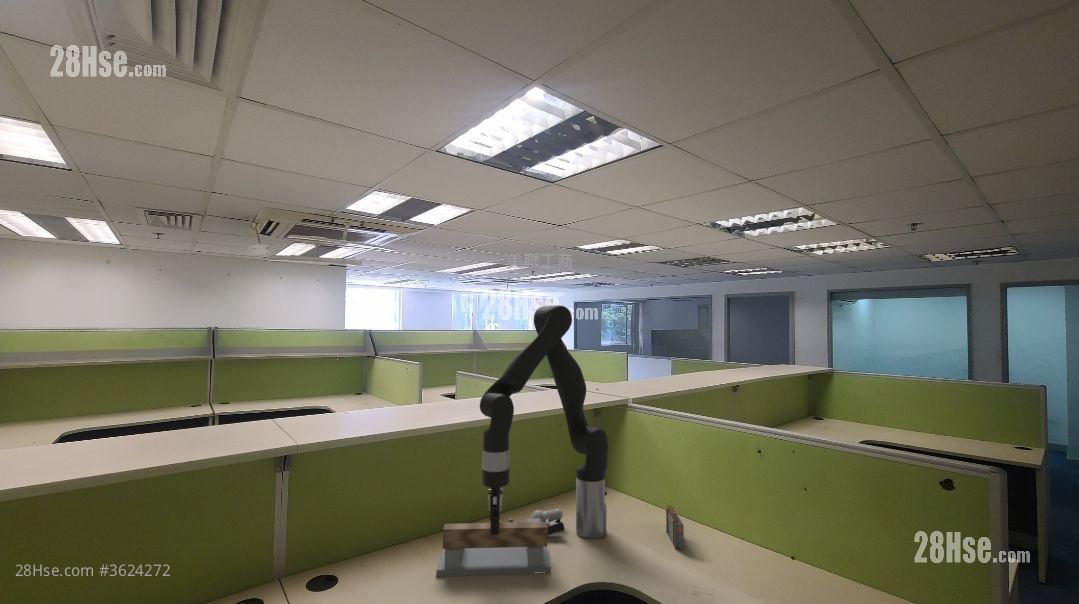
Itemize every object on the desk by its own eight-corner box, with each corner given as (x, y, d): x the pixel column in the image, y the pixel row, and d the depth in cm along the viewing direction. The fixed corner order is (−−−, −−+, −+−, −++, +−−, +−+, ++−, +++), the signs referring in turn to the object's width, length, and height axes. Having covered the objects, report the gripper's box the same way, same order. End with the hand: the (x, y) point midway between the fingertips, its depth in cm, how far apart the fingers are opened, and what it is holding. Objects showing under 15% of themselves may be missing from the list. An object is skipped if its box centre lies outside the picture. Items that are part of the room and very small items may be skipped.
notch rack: (546, 549, 129) (546, 517, 130) (550, 572, 116) (550, 537, 117) (443, 551, 127) (444, 519, 128) (436, 576, 114) (437, 540, 115)
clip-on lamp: (509, 548, 136) (566, 536, 135) (505, 528, 136) (561, 516, 135) (512, 527, 147) (564, 516, 147) (508, 509, 147) (560, 498, 147)
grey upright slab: (665, 533, 141) (664, 502, 141) (674, 533, 140) (674, 502, 141) (673, 550, 129) (672, 517, 130) (683, 551, 129) (683, 517, 130)
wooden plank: (546, 540, 122) (546, 521, 122) (547, 546, 118) (547, 527, 118) (444, 542, 120) (445, 523, 120) (442, 548, 116) (443, 529, 117)
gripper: (509, 474, 114) (509, 538, 112) (509, 458, 128) (509, 515, 127) (480, 474, 113) (479, 539, 112) (483, 458, 127) (483, 516, 126)
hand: (495, 526), depth 119 cm, fingers open, 8 cm apart
